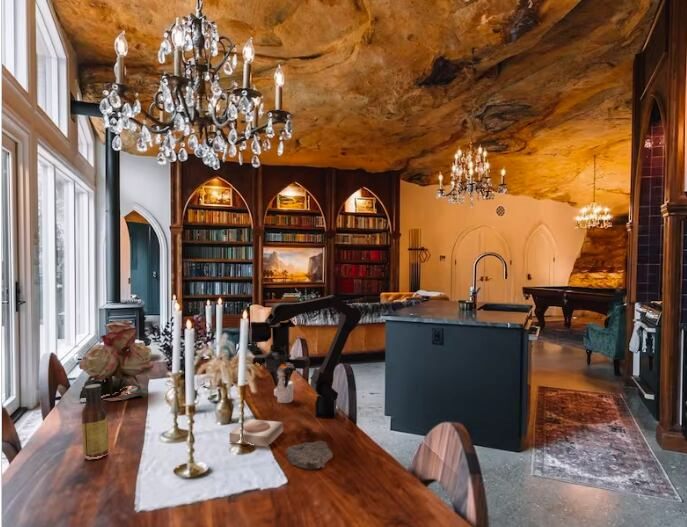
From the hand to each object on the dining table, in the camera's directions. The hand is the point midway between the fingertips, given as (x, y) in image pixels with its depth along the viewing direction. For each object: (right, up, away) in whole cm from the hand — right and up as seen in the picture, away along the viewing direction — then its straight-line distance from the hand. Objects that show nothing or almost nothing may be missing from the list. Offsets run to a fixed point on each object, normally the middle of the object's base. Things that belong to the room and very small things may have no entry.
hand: (281, 386), depth 154 cm
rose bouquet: (-70, -12, +33) cm, 78 cm away
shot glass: (-2, -11, +21) cm, 24 cm away
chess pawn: (0, -3, 0) cm, 3 cm away
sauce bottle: (-48, -13, -26) cm, 56 cm away
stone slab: (+12, -12, -28) cm, 33 cm away
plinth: (-6, -12, -14) cm, 19 cm away
